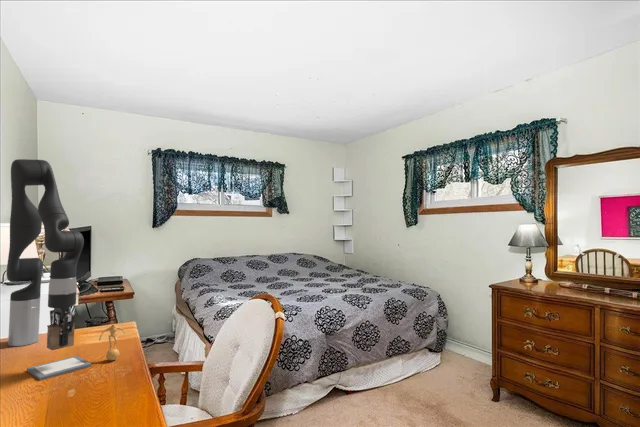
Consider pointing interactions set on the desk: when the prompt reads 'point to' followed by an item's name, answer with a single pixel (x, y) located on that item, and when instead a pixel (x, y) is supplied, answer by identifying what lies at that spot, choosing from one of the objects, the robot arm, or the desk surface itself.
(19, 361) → the desk surface
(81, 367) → the mat
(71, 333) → the walnut box
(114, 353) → the figurine
